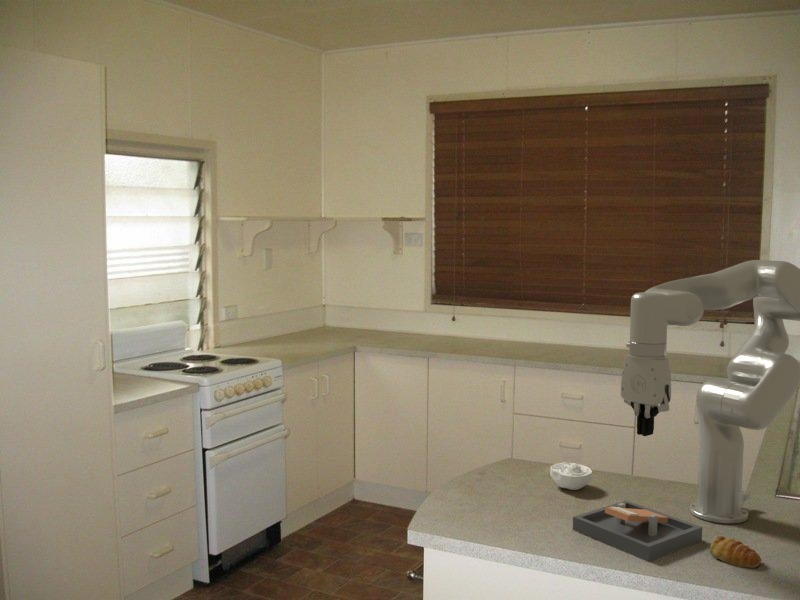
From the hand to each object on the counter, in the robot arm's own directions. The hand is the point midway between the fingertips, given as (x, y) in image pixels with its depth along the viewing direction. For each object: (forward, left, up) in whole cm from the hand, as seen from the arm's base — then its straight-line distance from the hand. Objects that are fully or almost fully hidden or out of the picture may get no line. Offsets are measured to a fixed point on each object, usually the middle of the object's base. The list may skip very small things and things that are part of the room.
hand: (645, 434), depth 169 cm
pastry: (-5, +19, -23) cm, 30 cm away
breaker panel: (+2, 0, -22) cm, 22 cm away
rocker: (+2, 0, -18) cm, 18 cm away
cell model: (-10, -30, -22) cm, 39 cm away
